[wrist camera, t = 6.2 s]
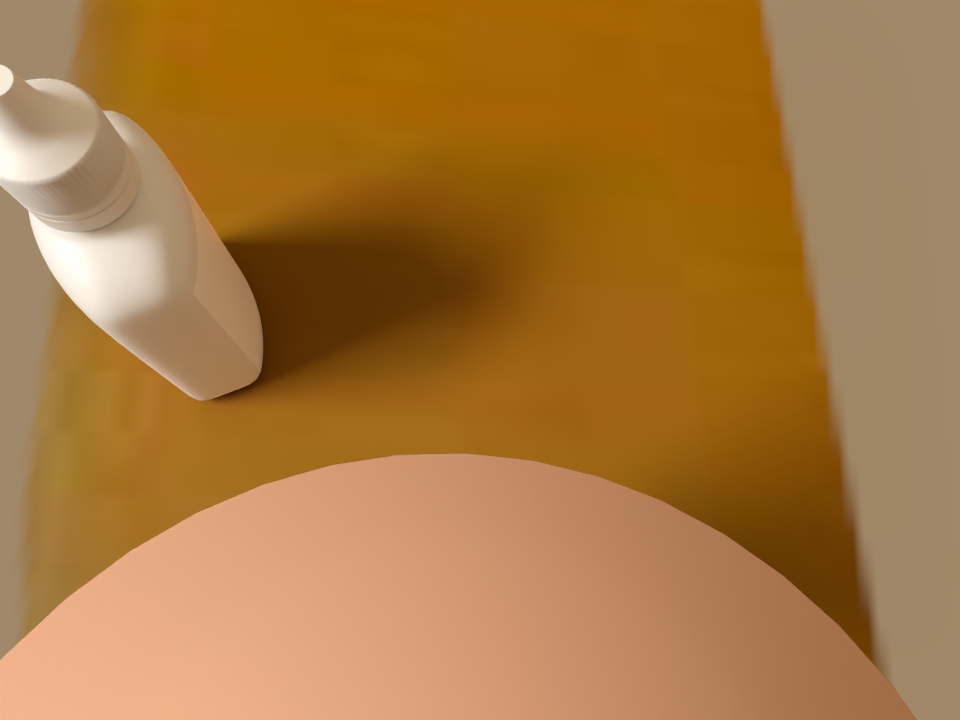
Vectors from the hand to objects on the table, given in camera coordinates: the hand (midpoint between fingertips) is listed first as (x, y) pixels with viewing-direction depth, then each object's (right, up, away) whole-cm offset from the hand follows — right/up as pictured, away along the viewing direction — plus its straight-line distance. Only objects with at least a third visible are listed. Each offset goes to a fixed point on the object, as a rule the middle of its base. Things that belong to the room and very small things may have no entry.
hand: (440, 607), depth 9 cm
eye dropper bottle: (-9, +4, +15) cm, 18 cm away
